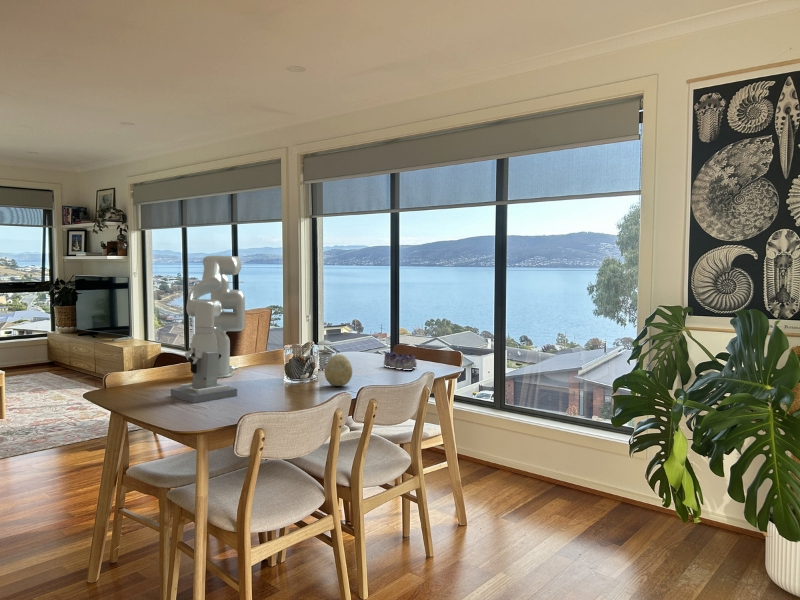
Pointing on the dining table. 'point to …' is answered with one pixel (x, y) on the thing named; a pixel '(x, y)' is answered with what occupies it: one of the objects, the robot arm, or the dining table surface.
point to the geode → (400, 360)
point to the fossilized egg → (338, 370)
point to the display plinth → (202, 393)
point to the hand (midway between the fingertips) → (204, 371)
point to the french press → (325, 352)
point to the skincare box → (206, 371)
